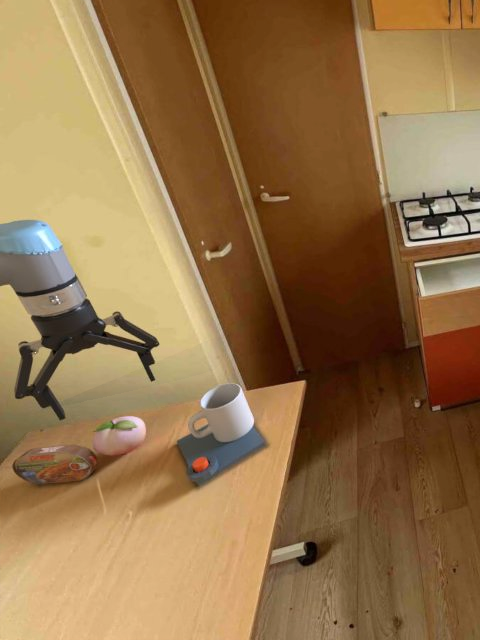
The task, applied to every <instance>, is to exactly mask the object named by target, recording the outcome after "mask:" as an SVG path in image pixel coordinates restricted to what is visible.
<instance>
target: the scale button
mask: <svg viewBox="0 0 480 640" xmlns="http://www.w3.org/2000/svg"><path fill="white" fill-rule="evenodd" d="M192 466H193V468H194V470H195V472H198V473H199V472H202V471H204V470H206V469H207V468H208V466H209V463H208V461H207V459H206V458H205V457H200V458H198V459H196V460H195V461H194V462H193V464H192Z"/></svg>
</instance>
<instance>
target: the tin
mask: <svg viewBox="0 0 480 640" xmlns="http://www.w3.org/2000/svg"><path fill="white" fill-rule="evenodd" d="M98 465H99V460H98V457H97V455H96V454H95V453H94V451H92V450H91V449H90V448H88V447H86V446H82V445H79V444H78V445H77V444H67V445H56V446H55V445H54V446H42V447H34V448H30V449H29V450H27V451H25V452H24V453H23V454H22V455H20V456H19V457H18V458H16V459H15V460H13V462H12V465H11V467H12V471H13V473H14V474H15V475H16V476H17V477H18V478H19V479H21V480H24V481H26V482H29V483H31V484H35V485H36V484H37V485H46V484H56V483H57V484H58V483H69V482H78V481H83V480H85V479H87V478H89V476H90V475H91V474H92V473H93V472H94V471H95V469H97V467H98Z"/></svg>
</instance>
